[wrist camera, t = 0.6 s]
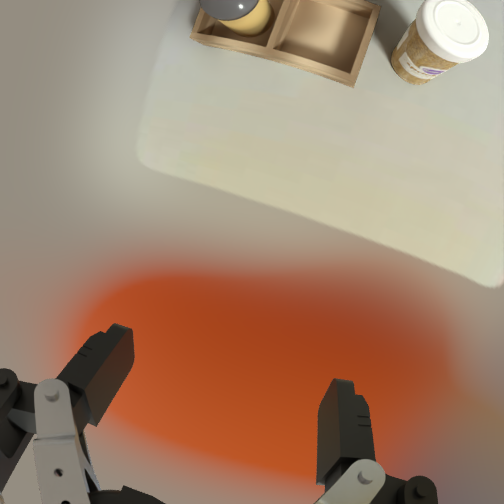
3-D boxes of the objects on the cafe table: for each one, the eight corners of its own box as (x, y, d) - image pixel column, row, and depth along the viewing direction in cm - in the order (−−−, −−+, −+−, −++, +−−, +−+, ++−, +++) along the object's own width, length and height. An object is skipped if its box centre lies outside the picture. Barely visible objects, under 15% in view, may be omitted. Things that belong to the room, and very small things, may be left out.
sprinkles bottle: (399, 88, 25) (439, 60, 13) (383, 45, 23) (409, -8, 11) (441, 81, 23) (501, 55, 11) (425, 39, 22) (472, -11, 10)
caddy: (204, 45, 28) (189, 37, 25) (228, -19, 24) (216, -31, 21) (353, 88, 26) (354, 82, 23) (377, 18, 22) (381, 6, 19)
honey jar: (223, 4, 25) (195, -19, 19) (270, -9, 23) (251, -37, 17) (232, 43, 27) (204, 25, 21) (280, 31, 25) (263, 8, 19)
